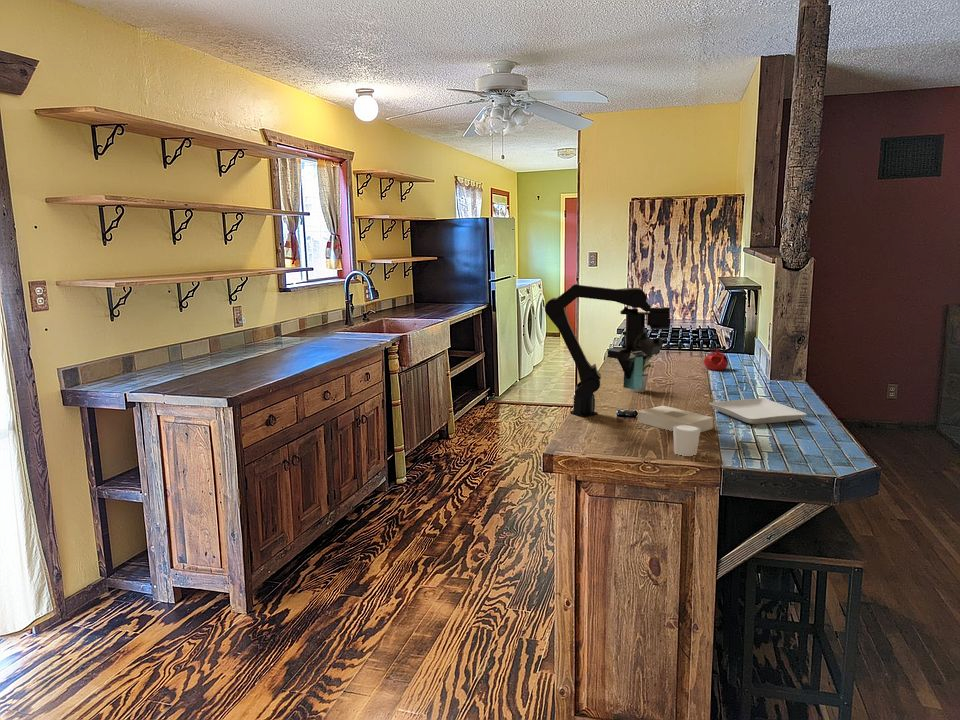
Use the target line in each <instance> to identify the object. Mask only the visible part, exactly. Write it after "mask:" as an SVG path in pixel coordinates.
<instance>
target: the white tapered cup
mask: <svg viewBox="0 0 960 720" xmlns="http://www.w3.org/2000/svg"><path fill="white" fill-rule="evenodd" d="M672 434H673V453H674V454H675V455H676V454H678V455H677V456H679V455H682V456H681V457H684V456H693V455H697V453H698V447H699V440H700V435H701V432H700V428H699V427H696V426H692V425H675V426H673V432H672ZM693 457H694V456H693Z"/></svg>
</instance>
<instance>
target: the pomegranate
mask: <svg viewBox="0 0 960 720" xmlns="http://www.w3.org/2000/svg"><path fill="white" fill-rule="evenodd" d="M719 350H720V348H716V350H715V351H713V350H710V351H709V353H708V354H706V356H704V359H703V364H704V366H705V368H706V369H707V368H708V369H707V370H710V371H714V370H717V371H724V370H726V369H727V367H728V365H729V361H728V357H727V356H726V354H725V353H724V352H722V351H719ZM717 371H716V372H717Z"/></svg>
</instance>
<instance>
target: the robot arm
mask: <svg viewBox="0 0 960 720" xmlns="http://www.w3.org/2000/svg"><path fill="white" fill-rule="evenodd" d="M577 298H583V299H590V300H591V299H592V300H599V301H600V300H601V301H608V302H615V303H618V304H622V305H625V306H624V308H623V309H622V310H620V311H619V313H620V314H621V315H626V316H625V331H622V335H623V336H624V338H625V339H624V340H625V341H624V344H622V345H621V347H618V346H617V347H611V348H610V347H609V349H608V350H607V356H606V357H607V358H611V359H615V360H617V361H618V363H619V365H620V366H621V369H622V371H623V375H624V374H625V376H626V378H627V379H630V377H631V369H632V363H633V362H634V360H635V358H633V355H637V356H643V366H644V364H645V363H646V360H648V359H649V358H650V357H651V358H653V357H652V355H656V356H657V354H658V355H659V354H661V352H660V351H661V350H663V338H661V337H657V338H654V339H653V338H649V333H648V332H647V331H645V330H646V326H649V329H650V330H663V331H665V330H668V331H670V328H671V315H670V313H671V312H670V310H671V309H670V307H666V306H665V307H652V305H651V304H650V303H648V302H647V294H646V292H645V291H644V290H643V289H641V288H639V287H626V288H608V287H601V286H600V287H599V286H592V285H584V284H583V285H581V284H579V283H574V284H572V285H571V286H570V287H569V289H567V290H566V291H564V292H562V294H560V295H559V296H557V297H552V298H550V299H549V300H548V301H547V302H546V303H545V306H544V312H545V314H546V316H547V317H548V318H549V320H551V322H552V323H553V324H554V325H555V327H556V328H557V329H558V331H559V333H560V335H561V337H562V340H563V341H564V344H565V345H566V347H567V350H568V352H569V354H570V356H571V358H572V359H573V362H574V364H575V366H576V369H577V372H578V373H577V374H578V377H579V380H580V381H579V382H578V383H577V384H576V385H575V390H574V393H575V394H574V395H573V410H570V411H569V413H570V412H571V413H570V414H572V415H575V416H580V417H590V416H594V415H597V414H598V411H595V407H596V405H595V403H596V399H595V394H594V393H595V392H597V391H598V390H599V389H600V387H601V379H602V377H601V376H602V375H601V372H599V370H598V367H597V363H594V364H592V365H591V363H590V362H589V361H588V358H587V357H586V354H585V353H584V351H583V348H582V347H581V345H580V342H579V340H578V339H577V336H576V335H575V333H574V330H573V328H572V326H571V324H570V321H569V317H568V312H567V310H566V307H567V306H569V305H570V304H571V303H572V302H574V301H575V300H576V299H577ZM628 307H631V308H628ZM638 308H639V309H641V310H642V311H639V309H638ZM649 360H650V359H649ZM649 360H648V361H649ZM644 367H645V366H644Z"/></svg>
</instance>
